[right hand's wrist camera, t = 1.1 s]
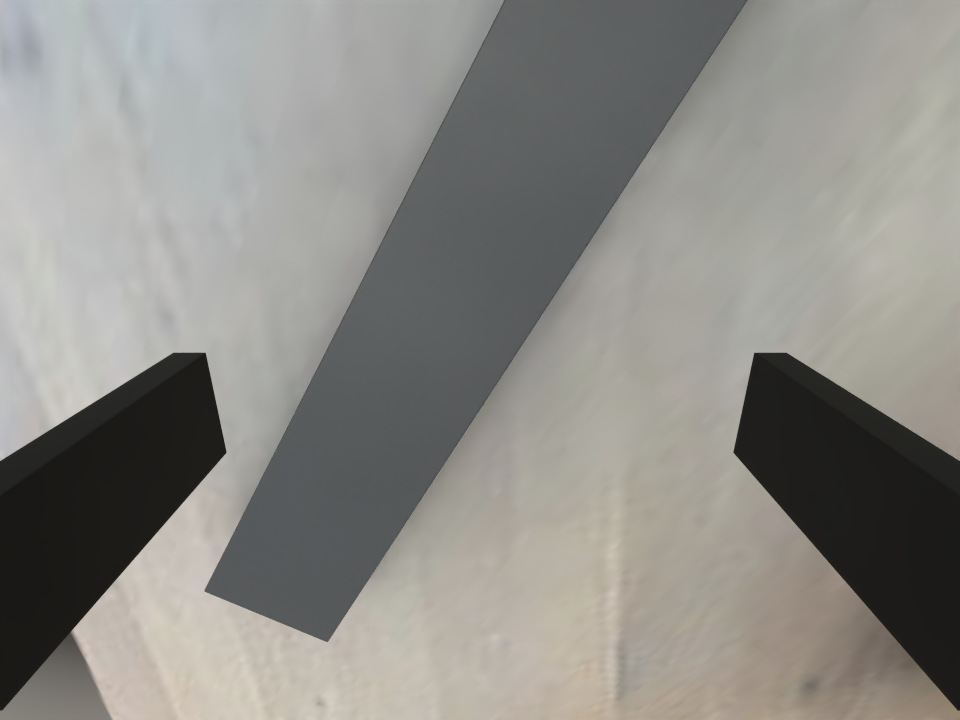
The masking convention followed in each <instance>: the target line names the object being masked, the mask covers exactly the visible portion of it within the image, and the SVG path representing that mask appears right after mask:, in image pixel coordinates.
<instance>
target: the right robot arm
mask: <svg viewBox="0 0 960 720" xmlns="http://www.w3.org/2000/svg"><path fill="white" fill-rule="evenodd" d="M225 454H226V448H225V443H224V438H223V434H222V429H221V424H220V419H219V414H218V410H217V405H216V400H215V395H214V391H213V386H212V381H211V376H210V372H209V367H208V362H207V357H206V353H173V354H171V355H169V356H168V357H166V358H165V359H163V360H161V361H160V362H158V363H157V364H155V365H153V366H152V367H150V368H149V369H147V370H145V371H144V372H142V373H141V374H139V375H137V376H136V377H134V378H133V379H131V380H129V381H128V382H126V383H125V384H123V385H121V386H120V387H118V388H117V389H115V390H113V391H112V392H110V393H109V394H107V395H105V396H104V397H102V398H101V399H99V400H97V401H96V402H94V403H93V404H91V405H89V406H88V407H86V408H85V409H83V410H81V411H80V412H78V413H77V414H75V415H73V416H72V417H70V418H69V419H67V420H65V421H64V422H62V423H61V424H59V425H57V426H56V427H54V428H53V429H51V430H49V431H48V432H46V433H45V434H43V435H41V436H40V437H38V438H37V439H35V440H33V441H32V442H30V443H29V444H27V445H25V446H24V447H22V448H21V449H19V450H17V451H16V452H14V453H13V454H11V455H9V456H8V457H6V458H5V459H3V460H1V461H0V710H3V709H4V708H5V707H6V705H7V704H8V703H9V702H10V701H11V700H12V699H13V697H14V696H15V695H16V694H17V693H18V692H19V690H20V689H21V688H22V687H23V686H24V685H25V684H26V682H27V681H28V680H29V679H30V678H31V677H32V676H33V674H34V673H35V672H36V671H37V670H38V669H39V667H40V666H41V665H42V664H43V663H44V662H45V661H46V659H47V658H48V657H49V656H50V655H51V654H52V653H53V651H54V650H55V649H56V648H57V647H58V646H59V645H60V643H61V642H62V641H63V640H64V639H65V638H66V636H67V635H68V634H69V633H70V632H71V631H72V630H73V628H74V627H75V626H76V625H77V624H78V623H79V622H80V620H81V619H82V618H83V617H84V616H85V615H86V613H87V612H88V611H89V610H90V609H91V608H92V607H93V605H94V604H95V603H96V602H97V601H98V600H99V599H100V597H101V596H102V595H103V594H104V593H105V592H106V591H107V589H108V588H109V587H110V586H111V585H112V584H113V582H114V581H115V580H116V579H117V578H118V577H119V576H120V574H121V573H122V572H123V571H124V570H125V569H126V568H127V566H128V565H129V564H130V563H131V562H132V561H133V559H134V558H135V557H136V556H137V555H138V554H139V553H140V551H141V550H142V549H143V548H144V547H145V546H146V545H147V543H148V542H149V541H150V540H151V539H152V538H153V536H154V535H155V534H156V533H157V532H158V531H159V530H160V528H161V527H162V526H163V525H164V524H165V523H166V522H167V520H168V519H169V518H170V517H171V516H172V515H173V513H174V512H175V511H176V510H177V509H178V508H179V507H180V505H181V504H182V503H183V502H184V501H185V500H186V499H187V497H188V496H189V495H190V494H191V493H192V492H193V491H194V489H195V488H196V487H197V486H198V485H199V484H200V482H201V481H202V480H203V479H204V478H205V477H206V476H207V474H208V473H209V472H210V471H211V470H212V469H213V468H214V466H215V465H216V464H217V463H218V462H219V461H220V459H221V458H222V457H223V456H224V455H225ZM734 454H735V455H736V456H737V457H738V458H739V459H740V461H741V462H742V463H743V464H744V465H745V466H746V468H747V469H748V470H749V471H750V472H751V473H752V474H753V476H754V477H755V478H756V479H757V480H758V481H759V482H760V484H761V485H762V486H763V487H764V488H765V489H766V491H767V492H768V493H769V494H770V495H771V496H772V497H773V499H774V500H775V501H776V502H777V503H778V504H779V505H780V507H781V508H782V509H783V510H784V511H785V512H786V513H787V515H788V516H789V517H790V518H791V519H792V520H793V522H794V523H795V524H796V525H797V526H798V527H799V528H800V530H801V531H802V532H803V533H804V534H805V535H806V536H807V538H808V539H809V540H810V541H811V542H812V543H813V545H814V546H815V547H816V548H817V549H818V550H819V551H820V553H821V554H822V555H823V556H824V557H825V558H826V559H827V561H828V562H829V563H830V564H831V565H832V566H833V568H834V569H835V570H836V571H837V572H838V573H839V574H840V576H841V577H842V578H843V579H844V580H845V581H846V582H847V584H848V585H849V586H850V587H851V588H852V589H853V591H854V592H855V593H856V594H857V595H858V596H859V597H860V599H861V600H862V601H863V602H864V603H865V604H866V605H867V607H868V608H869V609H870V610H871V611H872V612H873V613H874V615H875V616H876V617H877V618H878V619H879V620H880V622H881V623H882V624H883V625H884V626H885V627H886V628H887V630H888V631H889V632H890V633H891V634H892V635H893V636H894V638H895V639H896V640H897V641H898V642H899V643H900V645H901V646H902V647H903V648H904V649H905V650H906V651H907V653H908V654H909V655H910V656H911V657H912V658H913V659H914V661H915V662H916V663H917V664H918V665H919V666H920V668H921V669H922V670H923V671H924V672H925V673H926V674H927V676H928V677H929V678H930V679H931V680H932V681H933V682H934V684H935V685H936V686H937V687H938V688H939V689H940V691H941V692H942V693H943V694H944V695H945V696H946V697H947V699H948V700H949V701H950V702H951V703H952V704H953V705H954V707H955V708H956V709H957V710H960V461H959V460H957V459H955V458H954V457H952V456H951V455H949V454H947V453H946V452H944V451H943V450H941V449H939V448H938V447H936V446H935V445H933V444H931V443H930V442H928V441H927V440H925V439H923V438H922V437H920V436H919V435H917V434H915V433H914V432H912V431H911V430H909V429H907V428H906V427H904V426H903V425H901V424H899V423H898V422H896V421H895V420H893V419H891V418H890V417H888V416H887V415H885V414H883V413H882V412H880V411H879V410H877V409H875V408H874V407H872V406H871V405H869V404H867V403H866V402H864V401H863V400H861V399H859V398H858V397H856V396H855V395H853V394H851V393H850V392H848V391H847V390H845V389H843V388H842V387H840V386H839V385H837V384H835V383H834V382H832V381H831V380H829V379H827V378H826V377H824V376H823V375H821V374H819V373H818V372H816V371H815V370H813V369H811V368H810V367H808V366H807V365H805V364H803V363H802V362H800V361H799V360H797V359H795V358H794V357H792V356H791V355H789V354H787V353H754V357H753V362H752V367H751V372H750V376H749V381H748V386H747V391H746V395H745V400H744V405H743V410H742V414H741V419H740V424H739V429H738V434H737V438H736V443H735V448H734Z"/></svg>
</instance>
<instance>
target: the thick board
mask: <svg viewBox="0 0 960 720" xmlns="http://www.w3.org/2000/svg"><path fill="white" fill-rule="evenodd" d="M746 2H747V0H505V1H504V3H503V5H502V7H501V9H500V10H499V12H498V14H497V16H496V18H495V20H494V22H493V24H492V26H491V28H490V30H489V32H488V34H487V36H486V38H485V40H484V42H483V44H482V46H481V48H480V50H479V52H478V54H477V56H476V58H475V60H474V62H473V64H472V66H471V67H470V69H469V71H468V73H467V75H466V77H465V79H464V81H463V83H462V85H461V87H460V89H459V91H458V93H457V95H456V97H455V99H454V101H453V103H452V105H451V107H450V109H449V111H448V113H447V115H446V117H445V119H444V121H443V123H442V125H441V126H440V128H439V130H438V132H437V134H436V136H435V138H434V140H433V142H432V144H431V146H430V148H429V150H428V152H427V154H426V156H425V158H424V160H423V162H422V164H421V166H420V168H419V170H418V172H417V174H416V176H415V178H414V180H413V182H412V184H411V185H410V187H409V189H408V191H407V193H406V195H405V197H404V199H403V201H402V203H401V205H400V207H399V209H398V211H397V213H396V215H395V217H394V219H393V221H392V223H391V225H390V227H389V229H388V231H387V233H386V235H385V237H384V239H383V241H382V242H381V244H380V246H379V248H378V250H377V252H376V254H375V256H374V258H373V260H372V262H371V264H370V266H369V268H368V270H367V272H366V274H365V276H364V278H363V280H362V282H361V284H360V286H359V288H358V290H357V292H356V294H355V296H354V298H353V300H352V301H351V303H350V305H349V307H348V309H347V311H346V313H345V315H344V317H343V319H342V321H341V323H340V325H339V327H338V329H337V331H336V333H335V335H334V337H333V339H332V341H331V343H330V345H329V347H328V349H327V351H326V353H325V355H324V357H323V358H322V360H321V362H320V364H319V366H318V368H317V370H316V372H315V374H314V376H313V378H312V380H311V382H310V384H309V386H308V388H307V390H306V392H305V394H304V396H303V398H302V400H301V402H300V404H299V406H298V408H297V410H296V412H295V414H294V416H293V417H292V419H291V421H290V423H289V425H288V427H287V429H286V431H285V433H284V435H283V437H282V439H281V441H280V443H279V445H278V447H277V449H276V451H275V453H274V455H273V457H272V459H271V461H270V463H269V465H268V467H267V469H266V471H265V473H264V474H263V476H262V478H261V480H260V482H259V484H258V486H257V488H256V490H255V492H254V494H253V496H252V498H251V500H250V502H249V504H248V506H247V508H246V510H245V512H244V514H243V516H242V518H241V520H240V522H239V524H238V526H237V528H236V530H235V532H234V533H233V535H232V537H231V539H230V541H229V543H228V545H227V547H226V549H225V551H224V553H223V555H222V557H221V559H220V561H219V563H218V565H217V567H216V569H215V571H214V573H213V575H212V577H211V579H210V581H209V583H208V585H207V587H206V589H205V592H207V593H210V594H212V595H214V596H217V597H219V598H222V599H224V600H227V601H229V602H231V603H234V604H236V605H239V606H241V607H244V608H246V609H248V610H251V611H253V612H256V613H258V614H260V615H263V616H265V617H268V618H270V619H273V620H275V621H277V622H280V623H282V624H285V625H287V626H290V627H292V628H294V629H297V630H299V631H302V632H304V633H307V634H309V635H311V636H314V637H316V638H319V639H321V640H324V641H326V642H328V641H329V639H330V638H331V636H332V635H333V633H334V632H335V630H336V629H337V627H338V626H339V624H340V622H341V621H342V619H343V618H344V616H345V615H346V613H347V612H348V610H349V609H350V607H351V606H352V604H353V603H354V601H355V600H356V598H357V596H358V595H359V593H360V592H361V590H362V589H363V587H364V586H365V584H366V583H367V581H368V580H369V578H370V577H371V575H372V574H373V572H374V570H375V569H376V567H377V566H378V564H379V563H380V561H381V560H382V558H383V557H384V555H385V554H386V552H387V551H388V549H389V548H390V546H391V545H392V543H393V541H394V540H395V538H396V537H397V535H398V534H399V532H400V531H401V529H402V528H403V526H404V525H405V523H406V522H407V520H408V519H409V517H410V515H411V514H412V512H413V511H414V509H415V508H416V506H417V505H418V503H419V502H420V500H421V499H422V497H423V496H424V494H425V493H426V491H427V489H428V488H429V486H430V485H431V483H432V482H433V480H434V479H435V477H436V476H437V474H438V473H439V471H440V470H441V468H442V467H443V465H444V463H445V462H446V460H447V459H448V457H449V456H450V454H451V453H452V451H453V450H454V448H455V447H456V445H457V444H458V442H459V441H460V439H461V437H462V436H463V434H464V433H465V431H466V430H467V428H468V427H469V425H470V424H471V422H472V421H473V419H474V418H475V416H476V415H477V413H478V411H479V410H480V408H481V407H482V405H483V404H484V402H485V401H486V399H487V398H488V396H489V395H490V393H491V392H492V390H493V389H494V387H495V385H496V384H497V382H498V381H499V379H500V378H501V376H502V375H503V373H504V372H505V370H506V369H507V367H508V366H509V364H510V363H511V361H512V359H513V358H514V356H515V355H516V353H517V352H518V350H519V349H520V347H521V346H522V344H523V343H524V341H525V340H526V338H527V337H528V335H529V333H530V332H531V330H532V329H533V327H534V326H535V324H536V323H537V321H538V320H539V318H540V317H541V315H542V314H543V312H544V311H545V309H546V307H547V306H548V304H549V303H550V301H551V300H552V298H553V297H554V295H555V294H556V292H557V291H558V289H559V288H560V286H561V285H562V283H563V281H564V280H565V278H566V277H567V275H568V274H569V272H570V271H571V269H572V268H573V266H574V265H575V263H576V262H577V260H578V259H579V257H580V256H581V254H582V252H583V251H584V249H585V248H586V246H587V245H588V243H589V242H590V240H591V239H592V237H593V236H594V234H595V233H596V231H597V230H598V228H599V226H600V225H601V223H602V222H603V220H604V219H605V217H606V216H607V214H608V213H609V211H610V210H611V208H612V207H613V205H614V204H615V202H616V200H617V199H618V197H619V196H620V194H621V193H622V191H623V190H624V188H625V187H626V185H627V184H628V182H629V181H630V179H631V178H632V176H633V174H634V173H635V171H636V170H637V168H638V167H639V165H640V164H641V162H642V161H643V159H644V158H645V156H646V155H647V153H648V152H649V150H650V148H651V147H652V145H653V144H654V142H655V141H656V139H657V138H658V136H659V135H660V133H661V132H662V130H663V129H664V127H665V126H666V124H667V122H668V121H669V119H670V118H671V116H672V115H673V113H674V112H675V110H676V109H677V107H678V106H679V104H680V103H681V101H682V100H683V98H684V96H685V95H686V93H687V92H688V90H689V89H690V87H691V86H692V84H693V83H694V81H695V80H696V78H697V77H698V75H699V74H700V72H701V70H702V69H703V67H704V66H705V64H706V63H707V61H708V60H709V58H710V57H711V55H712V54H713V52H714V51H715V49H716V48H717V46H718V44H719V43H720V41H721V40H722V38H723V37H724V35H725V34H726V32H727V31H728V29H729V28H730V26H731V25H732V23H733V22H734V20H735V18H736V17H737V15H738V14H739V12H740V11H741V9H742V8H743V6H744V5H745V3H746Z"/></svg>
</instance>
